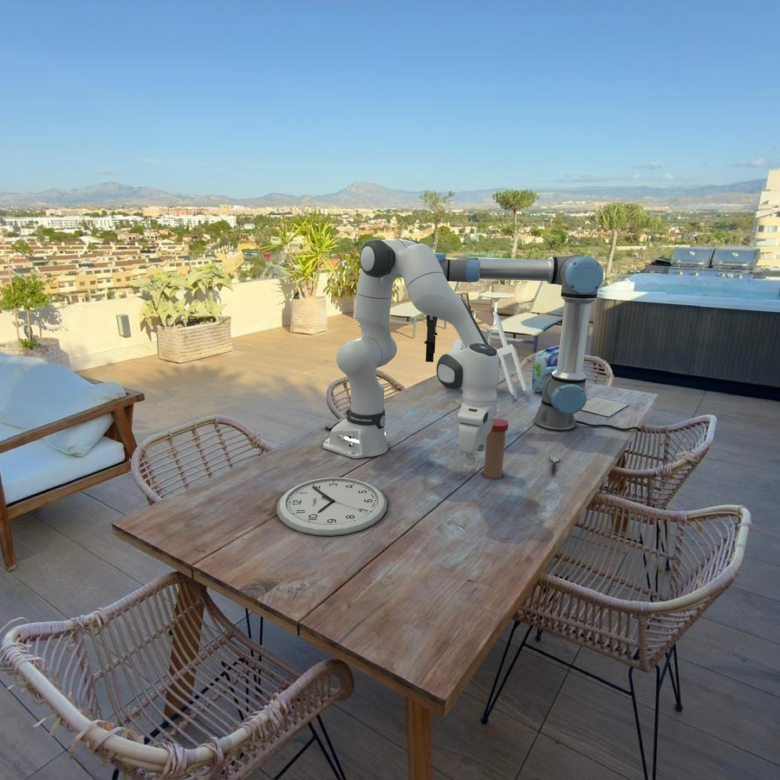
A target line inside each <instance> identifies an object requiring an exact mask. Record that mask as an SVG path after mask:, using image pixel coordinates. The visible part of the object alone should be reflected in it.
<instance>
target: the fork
mask: <svg viewBox="0 0 780 780" xmlns="http://www.w3.org/2000/svg"><path fill="white" fill-rule="evenodd" d="M550 460H551V461H552V462H553V463H552V464H551V475H554V472H555V470H556V467H557V466H556V462H559V461H560V453H558V452H556V451H554V450H552V451H551V456H550Z"/></svg>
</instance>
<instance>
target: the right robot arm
mask: <svg viewBox="0 0 780 780" xmlns="http://www.w3.org/2000/svg"><path fill="white" fill-rule="evenodd" d="M433 253H434V254H435V256H436V258H437V260H438V262H439V264H440V266H441V268H442V270H443V273H444V275H445V278H446V280H447V282H448V283H450V282H452V283H453V282H457V283H468V284H470V283H477V282H479V281H480V280H495V281H497V280H499V281H500V280H501V281H526V282H527V281H531V282H546V283H547V284H548V285H557V286H561V289H560V298H561V299H562V300H563V303H564V305H563V313H562V322H561V330H560V339H559V355H558V364H557V366H553V367H547V368H546V369H545V373H544V382H543V392H542V394H541V402H540V405H539V407H538V410H537V411H536V413H535V417H534V424H535V425H536V426H537V427H539V428H542V429H544V430H549V431H556V432H567V431H572V430H574V429H575V428H576V424H578V425H579V424H580V425H583V426H587V427H591V428H600V427H601V428H611V429H614V430H617V431H623V432H625V431H631V430H637V432H642V429H641V428H640V427H638V426H630V427H620V426H615V425H612V424H605V423H601V424H595V423H594V424H593V423H588V422H584V421H580V420H578V419H576V418H575V417H576V416H575V414H576V413H579V412H580V411H582V410H581V409H582V408H583V407H584V406H585V404H586V401H588V397H587V392H586V389H585V388H586V383H587V382H586V381H587V375H586V374H585V373H584V371H583V369H584V361H585V355H586V347H587V339H588V338H587V337H588V330H589V324H590V318H591V317H590V316H591V308H592V303H593V302H594V301H596V300H597V298H598V294H599V293H598V291H599V288H601V285H602V284H603V281H604V269H603V267H602V265H601V264H600V262H599V261H597V260H596V259H595V258H594V257H592V256H587V255H581V254H574V255H573V254H572V255H565V256H551V257H549V258H548V259H545V258H544V259H543V258H542V259H541V258H540V259H539V258H501V257H500V258H497V257H496V258H495V257H494V258H492V257H466V256H460V257H457V258H455V259H451V258H449V259H448V258H447V257H446V253H444V252H433ZM425 315H426V314H425ZM438 319H439V318H437V317H434V316H430V315H426V316H425V320H426V340H424V342H423V343H424V344H425V362H426V363H434V359H435V357H434V356H435V353H436V338H437V337H436V336H438V332H437V329H436V328H437V324H438Z"/></svg>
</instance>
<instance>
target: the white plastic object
mask: <svg viewBox="0 0 780 780" xmlns="http://www.w3.org/2000/svg"><path fill="white" fill-rule="evenodd" d="M492 315H493V319H494V321H495V324H496V325H495V326H496V328H497V332H498V335H499V338H500V342H501V345H502V347H500V348H498V349H496V350H497V352H498V356H499V362H500V366H502V370H503V373H504V376H505V380H506V383H507V386H508V390H509V393H510V394H511V395H512V397H513V398H514V399H515V400H517V392H516V391H517V390H516V388H515V385H514V381H513V378H512V375H511V371H510V369H509V365H508V361H510V360H513V363H514V366H515V369H516V372H517V376H518V380H519V382H520V385H521V389H522V391H523V393H524V395H525V396H526V397H528V396H531V395H530V390H529V388H528V387H529V386H528V384H527V381H526V378H525V375H524V371H523V369H522V368H523V367H522V366H521V362H520V359H519V355H518V352H517V349H516V347H515V346H514V345H513V343H511V344H508V341H507V337H506V334H505V331H504V328H503V325H502V321H501V318H500V315H499V314H498V312H497V311H496V310H495V311H492ZM465 348H466V347H465V345H464V343H463V342H462V340H461V338H460V339H458V338H454V340H453V344H452V349H451V352H455V351H460V350H463V349H465Z"/></svg>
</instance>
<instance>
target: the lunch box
mask: <svg viewBox="0 0 780 780" xmlns="http://www.w3.org/2000/svg"><path fill="white" fill-rule="evenodd" d="M559 346H560V344H559V345H553V346H550V347H546V348H545V349H542V350H539V351H538V352H537V353H536V354H535V356H534V358H533V365H532V376H531V377H532V378H531V390H532V391H533V392H537V393H542V392H543V382H544V373H545V369H546V368H547V367H553V366H557V364H558V355H559Z"/></svg>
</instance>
